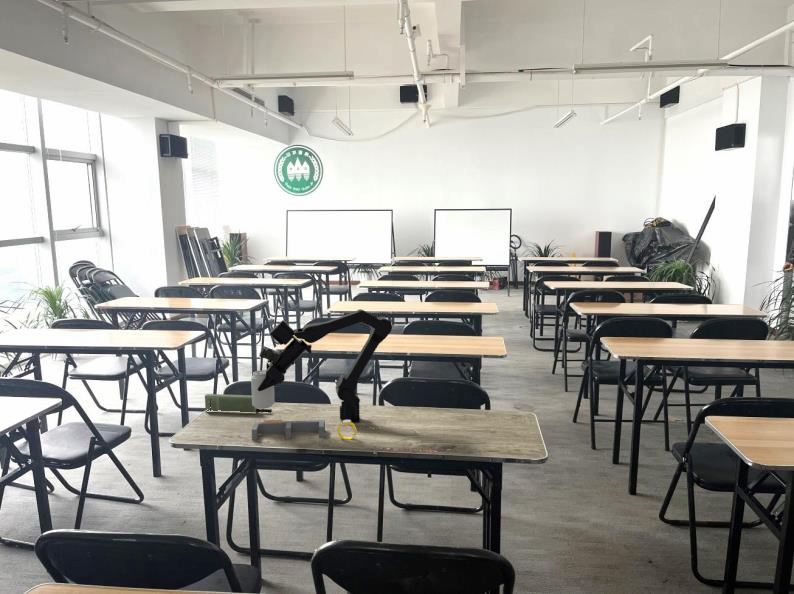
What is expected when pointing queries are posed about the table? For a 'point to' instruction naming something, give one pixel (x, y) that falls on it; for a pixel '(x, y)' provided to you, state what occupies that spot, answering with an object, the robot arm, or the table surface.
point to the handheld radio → (231, 403)
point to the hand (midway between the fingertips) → (258, 387)
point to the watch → (351, 425)
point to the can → (261, 397)
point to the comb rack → (287, 427)
